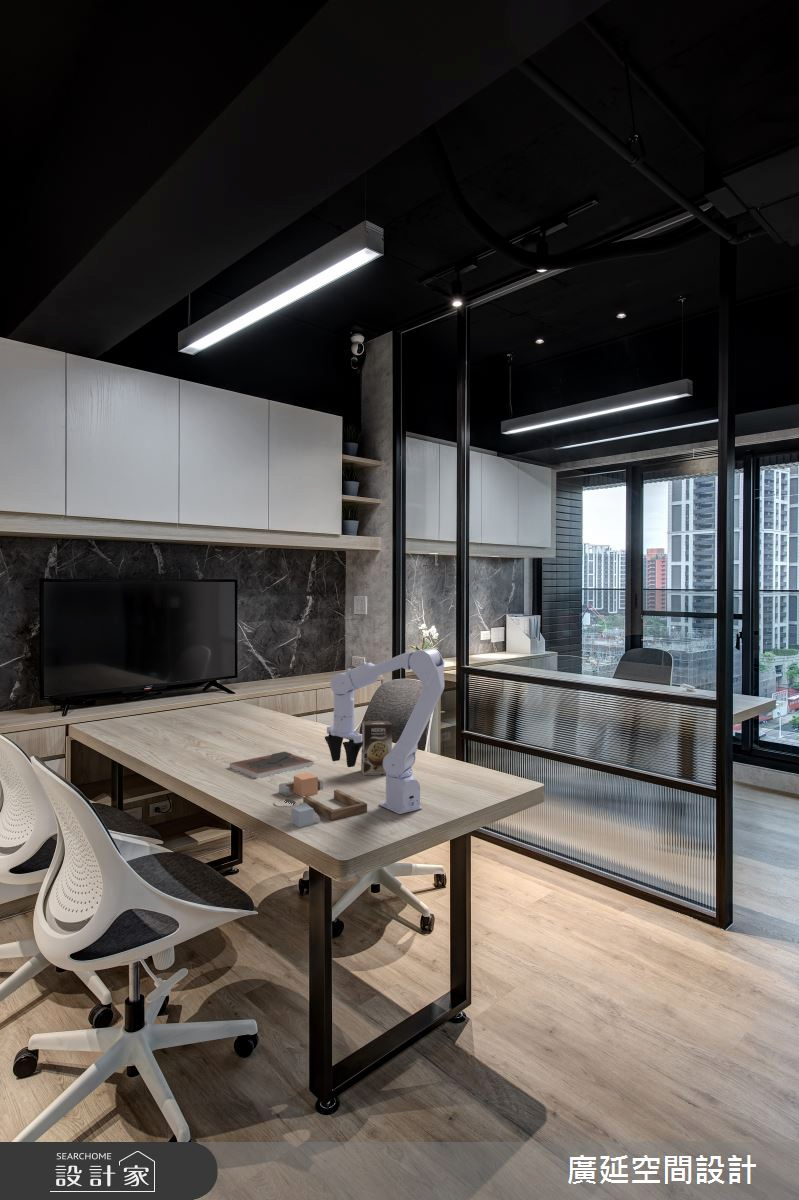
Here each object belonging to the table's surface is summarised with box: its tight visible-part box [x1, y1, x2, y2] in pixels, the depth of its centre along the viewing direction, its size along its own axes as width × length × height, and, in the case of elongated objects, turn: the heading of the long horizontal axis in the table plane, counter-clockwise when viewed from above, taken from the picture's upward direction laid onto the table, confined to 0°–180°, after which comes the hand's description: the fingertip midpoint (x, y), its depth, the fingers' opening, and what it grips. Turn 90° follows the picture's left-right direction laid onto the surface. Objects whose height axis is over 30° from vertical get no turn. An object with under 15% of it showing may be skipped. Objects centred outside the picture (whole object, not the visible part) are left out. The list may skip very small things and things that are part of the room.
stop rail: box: [278, 778, 324, 797], centre depth 190 cm, size 4×12×2 cm, turn 128°
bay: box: [302, 789, 368, 821], centre depth 175 cm, size 15×11×2 cm
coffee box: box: [360, 720, 393, 776], centre depth 210 cm, size 9×6×16 cm
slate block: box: [290, 804, 314, 828], centre depth 164 cm, size 4×4×4 cm
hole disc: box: [284, 798, 297, 806], centre depth 179 cm, size 6×6×1 cm
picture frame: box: [229, 751, 315, 779], centre depth 214 cm, size 16×2×22 cm
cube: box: [293, 772, 319, 798], centre depth 188 cm, size 5×5×5 cm
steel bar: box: [299, 802, 321, 824], centre depth 170 cm, size 12×2×2 cm, turn 25°
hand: (343, 763), depth 183 cm, fingers open, 7 cm apart
